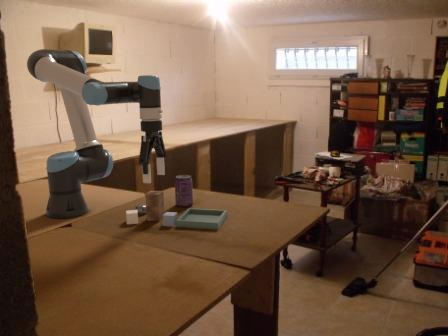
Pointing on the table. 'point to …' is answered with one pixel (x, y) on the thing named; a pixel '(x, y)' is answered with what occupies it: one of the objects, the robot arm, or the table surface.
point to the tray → (202, 218)
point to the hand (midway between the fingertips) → (154, 178)
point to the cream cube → (132, 216)
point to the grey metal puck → (141, 209)
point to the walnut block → (155, 205)
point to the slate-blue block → (170, 219)
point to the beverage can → (183, 190)
